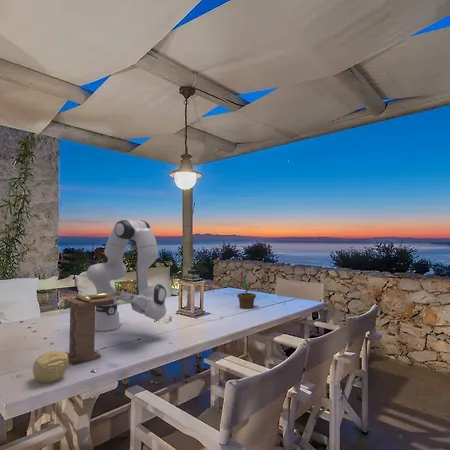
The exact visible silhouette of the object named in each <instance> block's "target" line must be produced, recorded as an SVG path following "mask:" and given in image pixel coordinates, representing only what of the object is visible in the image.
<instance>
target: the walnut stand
mask: <svg viewBox="0 0 450 450" xmlns="http://www.w3.org/2000/svg"><path fill="white" fill-rule="evenodd" d="M64 304H65V305H67V306H69V344H68V345H69V349H68V350H69V351H68V353H67V355H68V363H69V364H71V365H73V366H76V365H79V364H83V363H88V362H91V361H94V360H99V359H101V356H102V355H101V354H100V353H98V352H97V351H95V334H96V333H95V332H96V331H95V311H96V310H95V309H96V307H97V306H103V305H110V304H114V299H110V298H107V297H104V298H97V299H91V301H90V302H86V301H83V300H80V299H77V298H75V297H73V298H67V299H64Z"/></svg>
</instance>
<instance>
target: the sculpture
mask: <svg viewBox="0 0 450 450" xmlns="http://www.w3.org/2000/svg"><path fill="white" fill-rule="evenodd" d="M67 354H68V353H67V352H63V351H59V350H58V349H56V350H54V351H52V350H51V351H48V352H44V353H42V354H41V355H39V356H38V357H37V358H36V360H35V362H34V363H33V366H32V374H33V377H34V379H35V380H36V381H37V382H39V383H42V384H50V383H54V382H56V381H58V380H60V379H62V377H63V376H64V375H65V373H66V371H67V369H68V368H69V362H68V355H67Z"/></svg>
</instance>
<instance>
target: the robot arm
mask: <svg viewBox="0 0 450 450" xmlns="http://www.w3.org/2000/svg"><path fill="white" fill-rule="evenodd" d="M129 240H133V241H134V242H135V244H136V249H137V260H136V263H135V264H136V265H135V272H136V293H135V294H132V293H129V292H126V291H125V292H121V295H119V296H112V297H107V298H110V299H114V304H110V305H103V306H97V307H95V332H96V331H97V332H105V331H107V332H108V331H114V330H116V329H118V328H120V326H122V323H121V322H120V312H119V311H118V303H117V302H118V301H117V299H118V300H120V301H122V302H125V303H127V304H130V306H131V309H132V310H133V311H135V312H136V313H139V314H141V315H144V316H145V317H147V318H149V319H152V320H154V321H159V320H162V319H163V318H164V317H165V316H166V314H167V307H166V297H167V290H166V288H165V287H164V286H163V285H162V284H159V283H158V284H154V285H150V286H149V283H148V281H149V279H148V271H149V268H150V267H151V266H152V264H154V263H155V262H156V260H157V259H158V257H159V248H158V243H157V240H156V236H155V233H154V230H152V229H151V226H150V224H149V223H148V222H147V221H145V220H138V219H122V220H119V221H117V222H116V223H115V226H114V227H112V230H111V232H110V234H109V236H108V239H107V240H106V245H105V248H104V252H103V253H104V255H105V257H107V261H106V262H102V263H101V262H99V263H95V264H91V265H90V266H89V267H88V268H87V270H86V277H87V279H88V280H89V282H90V283H92V284H93V286H94V288H95V290H96V294H102V293H110V292H118V291H119V290H118V289H116V288H114V287H112V285H111V281H118V280H120V279H122V278H124V277H125V276H126V274H127V267H126V265H125V263H124V261H123V260H124V255H125V251H126V248H127V244H128V242H129Z"/></svg>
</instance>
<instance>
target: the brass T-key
mask: <svg viewBox="0 0 450 450" xmlns="http://www.w3.org/2000/svg"><path fill="white" fill-rule="evenodd" d="M117 291H118V292H110V293H102V294H97V293H96V294H88V295H82V294H79V293H77V294H75V296H74V298H77V299H80V300H83V301H86V302H90V301H91V299H97V298H104V297H112V296H119V295H121V292H125V293H126V291H124V290H122V291H121V290H117Z"/></svg>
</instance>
